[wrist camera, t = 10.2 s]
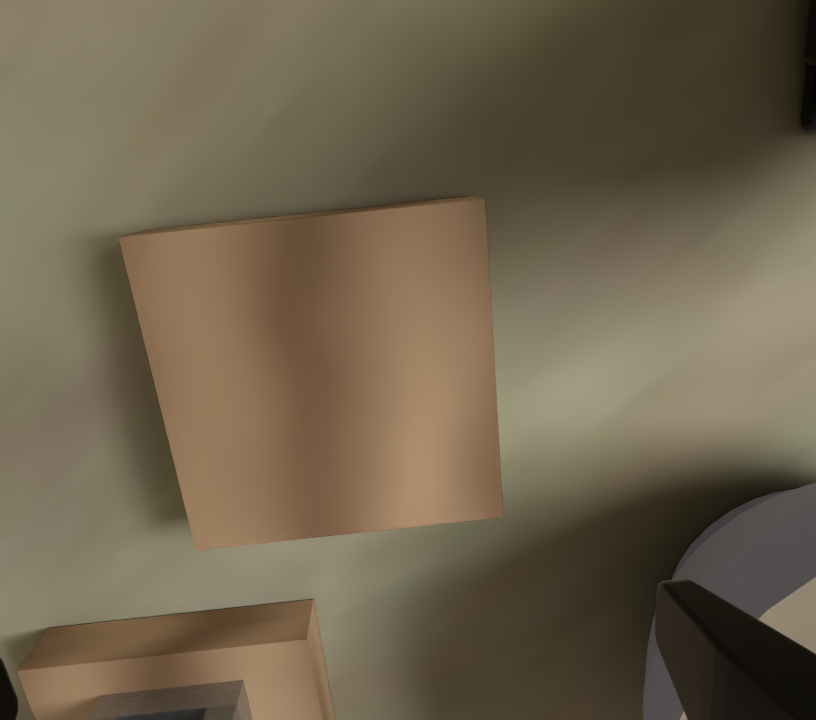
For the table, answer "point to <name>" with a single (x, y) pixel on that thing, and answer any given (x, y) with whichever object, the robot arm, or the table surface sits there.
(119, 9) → the table surface
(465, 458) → the stand
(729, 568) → the bowl
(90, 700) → the stand
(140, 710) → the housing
